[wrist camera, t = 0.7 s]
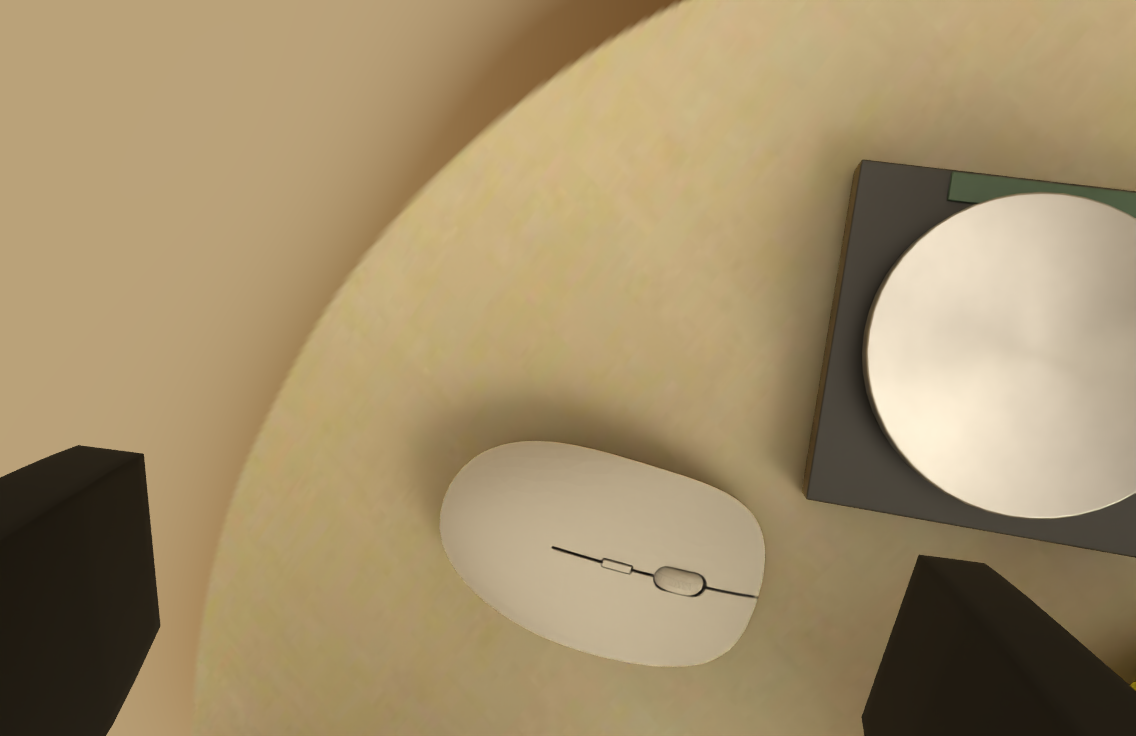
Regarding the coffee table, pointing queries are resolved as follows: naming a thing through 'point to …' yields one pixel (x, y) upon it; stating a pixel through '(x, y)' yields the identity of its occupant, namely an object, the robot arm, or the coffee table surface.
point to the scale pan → (1012, 355)
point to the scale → (843, 412)
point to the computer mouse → (605, 552)
